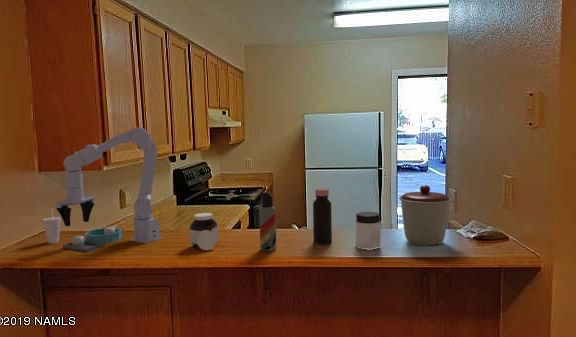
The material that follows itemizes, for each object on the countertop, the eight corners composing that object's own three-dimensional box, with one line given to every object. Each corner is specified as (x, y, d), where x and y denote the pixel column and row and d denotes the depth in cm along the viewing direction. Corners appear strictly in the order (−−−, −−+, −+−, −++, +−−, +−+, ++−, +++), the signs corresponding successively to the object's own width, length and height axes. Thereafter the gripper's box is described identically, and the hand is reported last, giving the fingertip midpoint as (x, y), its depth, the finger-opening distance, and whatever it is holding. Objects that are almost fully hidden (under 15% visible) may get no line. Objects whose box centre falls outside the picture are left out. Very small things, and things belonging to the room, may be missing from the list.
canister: (388, 240, 159) (388, 184, 157) (423, 233, 168) (423, 180, 166) (426, 252, 143) (426, 190, 141) (462, 244, 152) (463, 185, 150)
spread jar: (207, 241, 164) (205, 211, 163) (228, 245, 158) (227, 214, 156) (183, 248, 154) (181, 217, 153) (204, 253, 148) (203, 220, 147)
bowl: (128, 237, 171) (128, 229, 171) (101, 246, 160) (100, 236, 160) (106, 234, 177) (106, 226, 177) (78, 242, 166) (77, 233, 166)
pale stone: (117, 235, 172) (117, 227, 172) (109, 238, 168) (108, 229, 168) (110, 234, 174) (110, 226, 174) (102, 236, 170) (101, 228, 170)
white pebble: (86, 245, 160) (86, 236, 159) (77, 248, 156) (76, 238, 156) (79, 244, 162) (79, 235, 161) (70, 247, 158) (69, 237, 158)
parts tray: (104, 247, 158) (104, 243, 157) (87, 253, 151) (86, 248, 151) (80, 243, 164) (80, 240, 164) (63, 248, 157) (62, 244, 157)
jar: (382, 250, 147) (382, 216, 146) (359, 251, 146) (358, 216, 145) (376, 243, 156) (376, 211, 154) (354, 244, 155) (354, 211, 154)
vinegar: (322, 246, 153) (322, 191, 151) (309, 242, 158) (308, 189, 156) (335, 242, 158) (335, 189, 156) (322, 239, 163) (321, 187, 161)
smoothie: (54, 245, 162) (51, 209, 161) (40, 245, 163) (37, 209, 162) (66, 241, 168) (63, 206, 167) (52, 240, 170) (49, 206, 168)
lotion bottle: (264, 252, 147) (262, 195, 145) (257, 248, 152) (256, 193, 150) (279, 250, 149) (277, 194, 147) (272, 246, 154) (270, 192, 152)
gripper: (84, 184, 165) (87, 219, 166) (48, 189, 152) (51, 226, 154) (97, 185, 162) (99, 220, 163) (61, 190, 149) (64, 228, 150)
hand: (77, 223), depth 158 cm, fingers open, 7 cm apart
